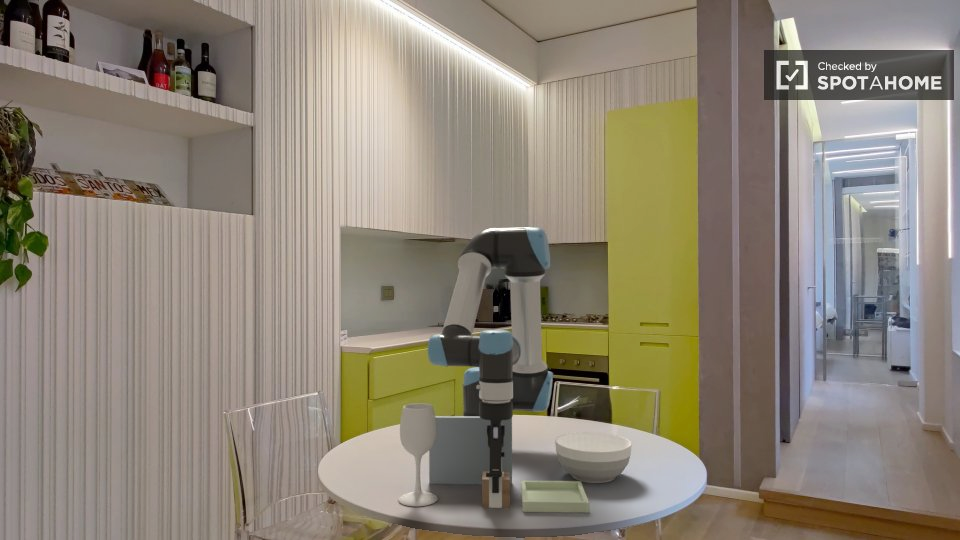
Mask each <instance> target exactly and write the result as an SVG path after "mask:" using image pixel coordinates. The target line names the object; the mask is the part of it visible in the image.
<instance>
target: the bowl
mask: <svg viewBox="0 0 960 540" xmlns="http://www.w3.org/2000/svg"><path fill="white" fill-rule="evenodd" d="M554 443H555V452H556V455H557V459H558V462H559V463H560V465H561V467H562V468H563V470H564V471H566V472H567V473H568V474H570V476H571V477H572V478H573V479H575V481H581V483H582V482H583V483H589V484H602V483H603V484H604V483H605V484H606V483H609V482H612V481H614V480H615V479H616V477H618V476H619V475H621V474H622V473H624V470H625V469H626V468H627V467H628V465H629V462H630V460H631V455H632V441H630V440H629V439H627V438H626V437H623V436H620V435H615V434H612V433H604V432H594V431H593V432H592V431H591V432H590V431H589V432H588V431H585V432H584V431H579V432H570V433H565V434H561V435H559V436H557V437H556V438H555V442H554Z"/></svg>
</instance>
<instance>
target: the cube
mask: <svg viewBox="0 0 960 540" xmlns="http://www.w3.org/2000/svg"><path fill="white" fill-rule="evenodd" d="M489 472H490V471H483V476H482V484H481V485H482V486H481V487H482V488H481V491H482V492H481V494H482V495H481V506H482V507H483V508H489V477H486V473H489ZM501 472H502V508H510V507H511V493H510V492H511V491H510V490H511V485H510V474H509V471H501Z"/></svg>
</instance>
